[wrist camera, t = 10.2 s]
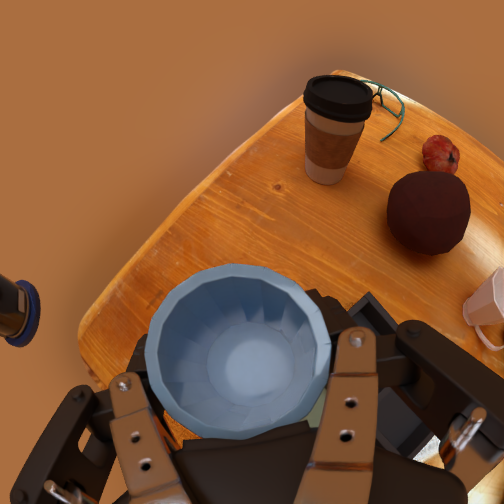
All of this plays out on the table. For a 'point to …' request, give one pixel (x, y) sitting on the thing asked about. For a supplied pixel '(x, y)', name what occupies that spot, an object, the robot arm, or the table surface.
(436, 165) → the pomegranate
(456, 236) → the dark brown oval ball
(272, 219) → the table surface
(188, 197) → the table surface
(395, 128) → the sunglasses
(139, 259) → the table surface
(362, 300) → the black divided tray
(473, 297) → the cup
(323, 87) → the coffee cup
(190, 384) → the blue cup
